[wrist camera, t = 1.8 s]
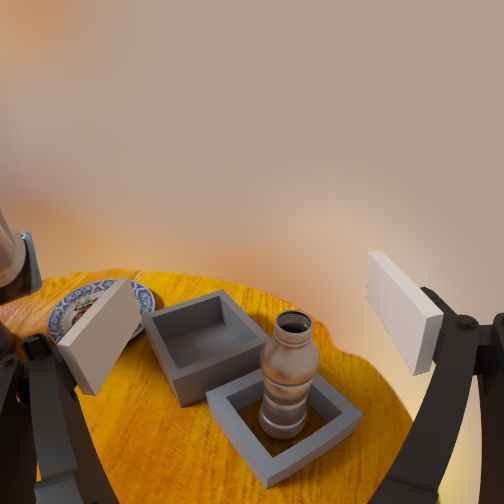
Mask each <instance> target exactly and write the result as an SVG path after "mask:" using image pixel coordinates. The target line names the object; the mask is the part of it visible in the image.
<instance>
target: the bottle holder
mask: <svg viewBox="0 0 504 504" xmlns="http://www.w3.org/2000/svg"><path fill="white" fill-rule="evenodd" d="M263 396H264V382H263V376H262V371H261V368H260V369H258V370H256V371H254V372H251V373H249V374H247V375H245V376H243V377H241V378H238V379H236V380H234V381H232V382H229V383H227V384H225V385H222V386H220V387H218V388H215V389H213V390H211V391H208V392H206V397H207V401H208V406H209V410H210V412H211V414H212V415H213V417H214V418H215V420H216V422H217V423H218V424H219V426H220V427H221V429H222V430H223V432H224V433H225V435H226V436H227V438H228V439H229V441H230V442H231V443H232V445H233V446H234V448H235V449H236V450H237V452H238V453H239V454H240V456H241V457H242V459H243V460H244V461H245V463H246V464H247V465H248V467H249V468H250V469H251V470H252V472H253V473H254V474H255V476H256V477H257V478H258V479H259V481H260V482H261V483H262V484H263V486H264V487H265V488H266V489H268V488H269V487H271V486H273V485H275V484H277V483H278V482H280V481H282V480H284V479H285V478H287V477H289V476H290V475H292V474H294V473H295V472H297V471H298V470H300V469H302V468H303V467H305V466H306V465H308V464H309V463H311V462H312V461H314V460H315V459H317V458H318V457H320V456H321V455H323V454H324V453H326V452H327V451H328V450H330V449H331V448H333V447H334V446H335V445H337V444H338V443H339V442H341V441H342V440H343V439H345V438H346V437H347V436H349V435H350V434H351V433H352V432H354V431H355V429H356V427H357V425H358V423H359V422H360V420H361V418H362V416H363V413H362V412H361V411H360V410H359V409H358V408H356V407H355V406H354V405H353V404H352V403H351V402H350V401H348V400H347V399H346V398H345V397H344V396H343V395H342V394H341V393H339V392H338V391H337V390H336V389H335V388H334V387H333V386H332V385H331V384H329V383H328V382H327V381H326V380H325V379H324V378H323V377H322V376H321V375H319V374H318V373H317V372H316V375H315V377H314V379H313V381H312V383H311V386H310V389H309V392H308V395H307V400H306V402H307V403H308V404H309V405H310V406H311V407H312V408H313V409H314V410H315V411H316V412H317V413H318V414H319V415H320V416H321V417H322V418H323V419H324V420H325V421H326V422H327V423H328V424H326V425H325V426H324V427H322V428H321V429H319V430H318V431H316V432H315V433H313V434H312V435H310V436H308V437H307V438H305V439H304V440H302V441H301V442H299V443H297V444H296V445H294V446H292V447H291V448H289V449H287V450H286V451H284V452H282V453H281V454H279V455H277V456H275V457H274V458H272V456H271V455H270V454H269V453H268V452H267V450H266V449H265V448H264V447H263V446H262V444H261V443H260V442H259V441H258V439H257V438H256V437H255V435H254V434H253V433H252V432H251V430H250V429H249V428H248V426H247V425H246V424H245V423H244V421H243V420H242V419H241V417H240V416H239V415H238V413H237V411H239V410H241V409H243V408H245V407H247V406H249V405H251V404H253V403H255V402H257V401H259V400H261V399H263Z"/></svg>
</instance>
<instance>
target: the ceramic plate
mask: <svg viewBox="0 0 504 504" xmlns="http://www.w3.org/2000/svg"><path fill="white" fill-rule="evenodd" d="M116 280H117V279H108V280H102V281H97V282H93V283H90V284H87V285H85V286H82V287H80V288H78V289H76V290H74V291H73V292H71V293H70V294H68V295H67V296H65V297H64V298H63V299H62V300H61V301H60V302H59V303H58V304H57V305H56V306H55V307H54V309H53V310H52V312H51V314H50V316H49V319H48V333H49V336H50V338H51V339H52V341H53V342H54V343H55V344H56V343H57V342H58V341H59V340H60V338H61V337H63V335H64V334H65V333H66V332H67V331H68V329H69V328H70V327H71V326H72V325H73V324H75V323H76V322H77V321H78V320H79V319H80V318H81V317H82V316H83V315H84V314H85V312H86V311H87V310H88V309H89V308H90V307H91V306H92V305H93V304H94V303H95V302H96V301H97V300H98V299H99V298H100V297H101V296H102V294H103V293H104V292H105V291H106V290H107V289H108V288H109V287H110V286H111V285H112V284H113V283H114V282H115V281H116ZM130 282H131V286H132V289H133V292H134V296H135V299H136V302H137V305H138V308H139V311H140V314H141V315H144V314H148V313H151V312H154V310H155V299H154V296H153V294H152V292H151V291H150V290H149V289H148V288H147V287H146V286H144V285H142V284H140V283H138V282H135V281H132V280H130ZM141 317H142V316H141ZM144 328H145V326H144V323H143V319H142V320H141V322H140V323H139V325H138V326H137V328H136V330H135V331H134V333H133V334H132V336H131V338H130V339H129V340H131V339H132V338H134V337H135V336H136V335H137V334H139V333H140V332H141V331H142V330H143V329H144Z"/></svg>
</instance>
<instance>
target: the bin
mask: <svg viewBox="0 0 504 504" xmlns="http://www.w3.org/2000/svg"><path fill="white" fill-rule="evenodd" d="M141 316H142V319H143V323H144V326H145V330H146V333H147V336H148V340H149V343H150V346H151V348H152V350H153V352H154V354H155V356H156V359H157V361H158V363H159V365H160V367H161V369H162V371H163V373H164V375H165V377H166V379H167V381H168V383H169V385H170V387H171V389H172V391H173V393H174V395H175V396H176V398H177V400H178V402H179V404H180V406H181V408H183V407H185V406H188V405H190V404H193V403H195V402H198V401H200V400H203V399H205V398H207V397H206V392H208V391H211V390H213V389H215V388H218V387H220V386H222V385H225V384H227V383H229V382H232V381H234V380H236V379H238V378H241V377H243V376H245V375H247V374H249V373H251V372H254V371H256V370H258V369H260V368H261V366H260V353H261V350H262V348H263V346H264V344H265V343H266V342H267V341H268V340H269V339H270V337H269V336H268V335H267V334H266V333H265V332H264V331H263V330H262V329H261V328H260V327H259V326H258V325H257V324H256V323H255V322H254V321H253V320H252V319H251V318H250V317H249V316H248V315H247V314H246V313H245V312H244V311H243V310H242V309H241V308H240V306H239V305H238V304H237V303H236V302H235V301H234V300H233V299H232V298H231V297H230V296H229V295H228V294H227V293H226V292H225V291H224V290H223V289H222V290H219V291H216V292H213V293H210V294H207V295H204V296H201V297H198V298H194V299H191V300H188V301H185V302H182V303H179V304H176V305H173V306H170V307H167V308H163V309H160V310H157V311H154V312H151V313H148V314H144V315H141Z"/></svg>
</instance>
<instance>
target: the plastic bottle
mask: <svg viewBox="0 0 504 504" xmlns="http://www.w3.org/2000/svg"><path fill="white" fill-rule="evenodd" d="M312 327H313V322H312V319H311V318H310V316H309V315H307V314H306V313H304V312H302V311H298V310H286V311H283V312H281V313H279V314H278V315H277V317H276V320H275V327H274V330H273V336H272V337H271V338H270V339H269V340H268V341H267V342H266V343H265V344H264V346H263V348H262V350H261V353H260V366H261V371H262V376H263V382H264V396H263V402H262V404H261V407H260V411H259V421H260V424H261V427H262V429H263V430H264V432H265V433H267V434H268V435H269V436H271V437H273V438H276V439H289V438H292V437H294V436H296V435H297V434H299V433H300V431H301V430H302V429H303V427H304V426H305V423H306V419H307V411H306V400H307V395H308V392H309V389H310V386H311V383H312V381H313V379H314V377H315V375H316V372H317V370H318V367H319V355H318V351H317V348H316V346H315V345H314V344H313V342H312V341H311V338H312Z"/></svg>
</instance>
